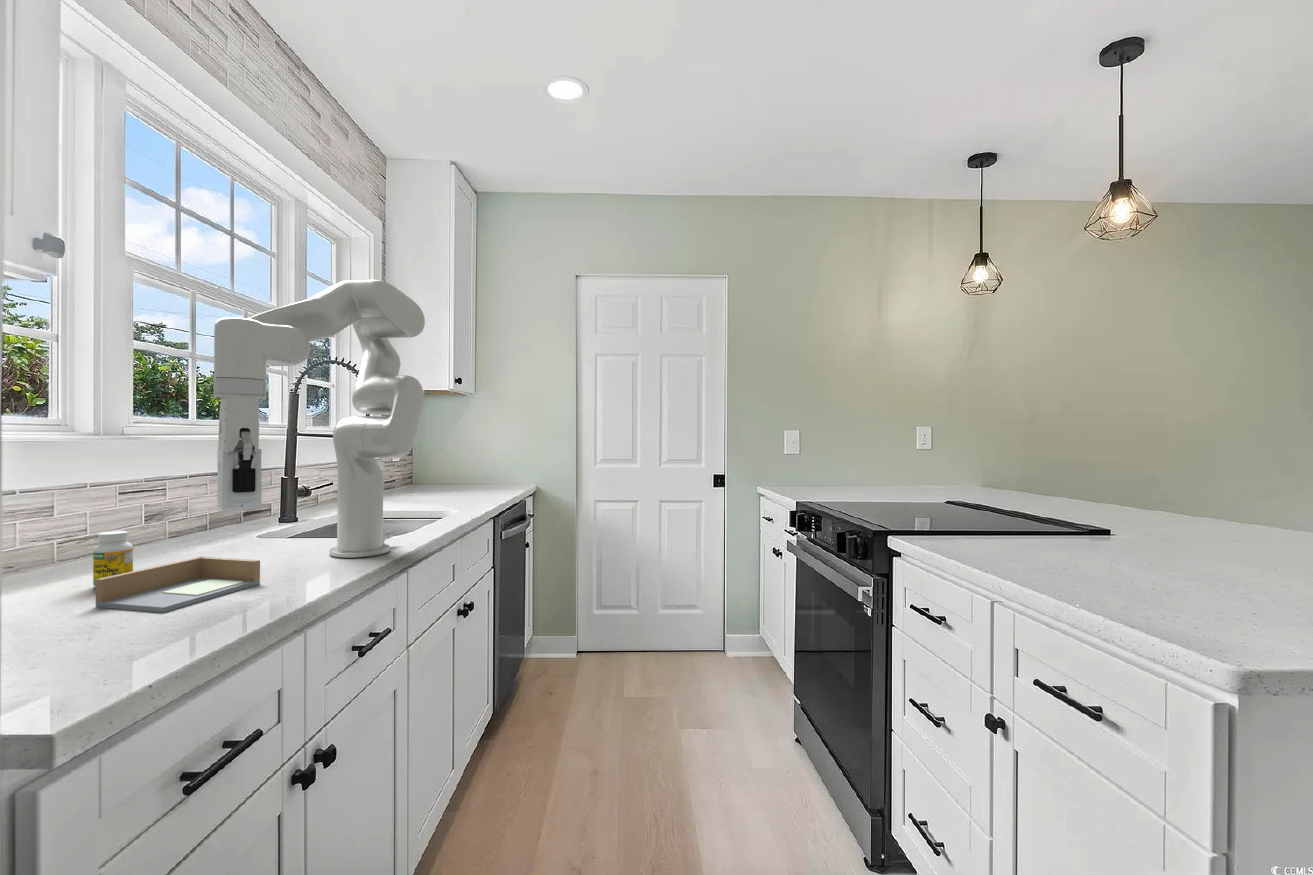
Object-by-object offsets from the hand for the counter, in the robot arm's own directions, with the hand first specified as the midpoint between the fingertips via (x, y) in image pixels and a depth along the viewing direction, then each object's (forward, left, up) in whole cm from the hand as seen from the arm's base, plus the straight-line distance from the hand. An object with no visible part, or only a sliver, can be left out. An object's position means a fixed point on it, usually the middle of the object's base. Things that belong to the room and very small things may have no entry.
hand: (239, 489), depth 106 cm
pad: (+2, -5, -18) cm, 19 cm away
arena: (+4, -7, -18) cm, 20 cm away
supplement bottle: (+2, -25, -18) cm, 31 cm away
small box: (0, 0, -3) cm, 3 cm away
